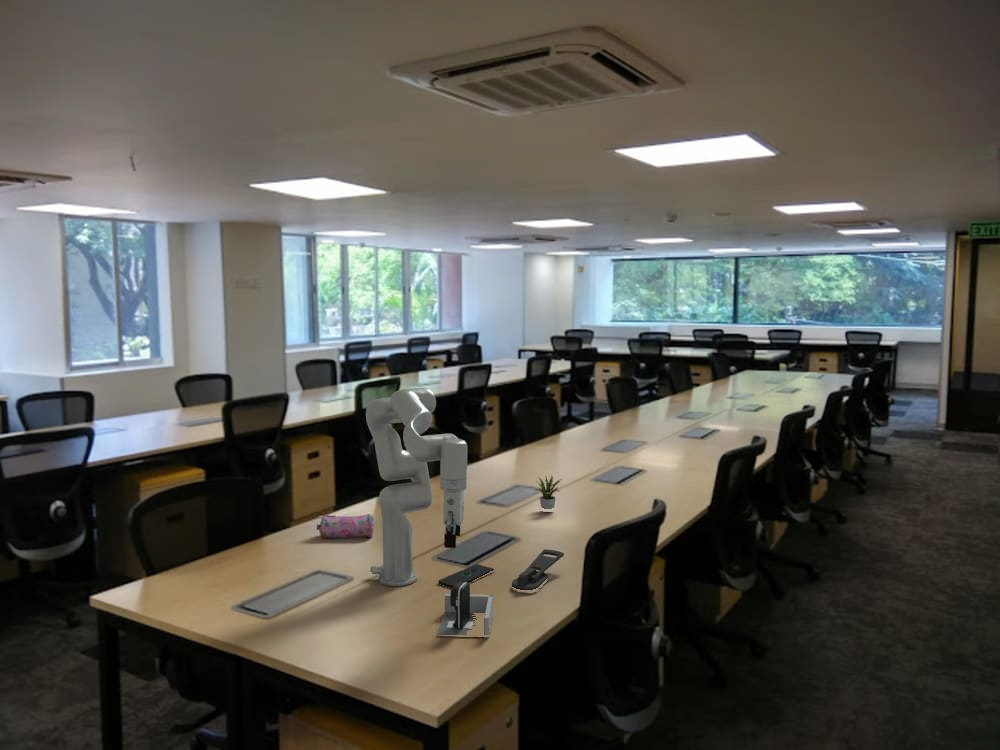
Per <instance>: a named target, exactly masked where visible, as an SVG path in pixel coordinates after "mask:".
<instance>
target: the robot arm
mask: <svg viewBox="0 0 1000 750" xmlns="http://www.w3.org/2000/svg"><path fill="white" fill-rule="evenodd" d="M436 407H437V400H436V396H435V394H434V393H433V391H432V390H430V389H429V388H426V387H418V388H401V389H398V390H397V391H394V392H393V393H392V394H391V396H389V397H381V398H376V399H373V400H371V401H370V402H369V403H368V404H367V407H366V408H365V409H366V410H365V418H366V424H367V426H368V430H369V432H370V434H371V436H372V439H373V443H374V448H375V454H376V460H377V466H378V471H379V475H380V477H381V478H382V480H384V481H385V482H386V481H387V482H393V481H400V480H409V479H410V480H411V482H403V483H397V484H391V485H388V486H386V487H384V488H383V489H381V491H380V492H379V497H378V500H379V506H380V511H381V520H382V521H381V522H382V523H381V524H382V563H383V564H382V565H380V566H375V565H370V571H369V572H370V573H372V575H378V582H379V583H380V584H382V585H385V586H388V587H389V586H390V587H403V586H408V585H411V584H413V583H415V582H416V581H417V580H418V574H417V573H416V572H414V571H413V526H412V523H411V521H410V520H409V519H408V518H407V516H406V514H407V513H414V512H420V511H424V510H427V509H429V508H430V507H431V505H432V504H433V503H432V502H433V490H432V485H431V478H430V473H429V472H430V471H429V467H428V463H429V462H430V463H431V462H435V461H440V469H439V470H440V471H439V473H440V474H439V475H440V476H439V478H440V479H439V480H440V481H439V484H440V485H439V489H440V490H441V491H443V504H442V505H443V509H442V510H443V511H442V513H443V514H442V515H443V516H442V517H443V525H445V528H444V529H445V530H444V533H443V534H444V535H443V536H444V538H443V541H444V543H443V545H444V546H443V547H444V548H445V549H456V547H457V537H460V535H461V525H462V523H463V522H464V521H463V520H464V518H465V494H464V493H465V491H466V490H467V486H468V484H467V483H468V443H467V442H466V440H463V439H461V438H459V437H457V436H456V435H455V434H453V433H441V434H427V435H422V434H423V433H425V432H426V431H428V429H429V428H430V427H431V425H432V422H433V415H432V413H433V412H434V411H435V409H436ZM396 423H397V424H398V423H399V424H400V423H402V424H403V425H404V428H403V432H402V433H403V434H402V435H403V437H402V439H403V444H404V447H405V450H404V449H403V446H402V442H401V437H400V435H399V433H398V432H397V431H396V429H395V428H393V426H392V425H390V424H396Z"/></svg>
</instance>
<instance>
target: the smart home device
mask: <svg viewBox="0 0 1000 750" xmlns="http://www.w3.org/2000/svg"><path fill="white" fill-rule="evenodd" d="M493 570H494V571H495V568H493V567H489V566H485V565H482V564H478V563H476V564H473V565H471V566H468V567H467V568H464V569H462V570H459V571H457V572H455V573H452V574H450V575H448V576H445V577H443V578H440V579H439V580H438V581H437V584H438V585H439V584H441V585H440V586H442V585H444V586H443V587H445V586H447V587H446V588H448V587H450V588H449V589H452V588H453V587H454V586H455V585H456V584H457V583H458V582H467V583H470V582H472V581H473V580H475V579H477V578H479V577H481V576H483V575H485V574H487V573H489V572H490V571H493ZM472 583H473V582H472ZM470 584H471V583H470Z"/></svg>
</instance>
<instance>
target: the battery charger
mask: <svg viewBox="0 0 1000 750" xmlns="http://www.w3.org/2000/svg"><path fill="white" fill-rule="evenodd" d="M470 585H471V583H470V584H469V583H467V582H458V583H457V584H456V585H455V586H454V587H453V588H450V593H449V594H450V605H451V606H453V607H454V609H455V610H456V621H455V622H454V623H453V627H456V628H459V629H460V628H463V627H464V626H465V624H466V623H467V622H468V621H469V620H470V595H471V586H470Z"/></svg>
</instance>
